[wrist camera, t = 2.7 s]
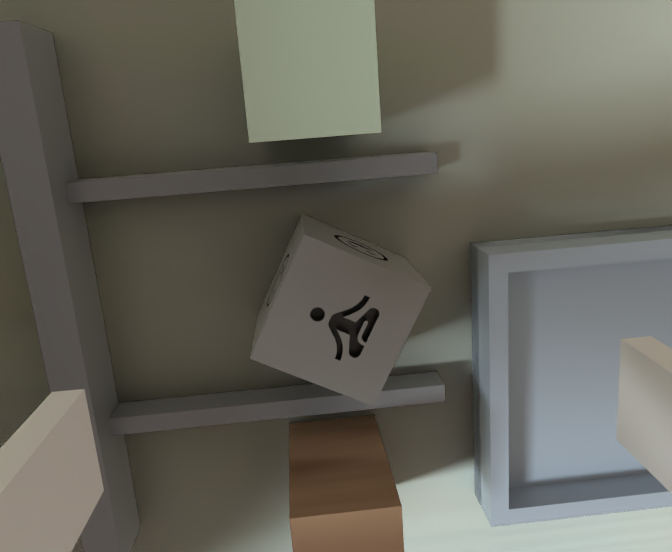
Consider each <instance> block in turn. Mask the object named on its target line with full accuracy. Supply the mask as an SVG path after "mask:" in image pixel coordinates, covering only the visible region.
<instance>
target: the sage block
mask: <svg viewBox="0 0 672 552" xmlns="http://www.w3.org/2000/svg"><path fill="white" fill-rule="evenodd" d="M234 7H235V17H236V26H237V35H238V45H239V54H240V63H241V73H242V82H243V91H244V100H245V110H246V119H247V128H248V138H249V143H253V142H266V141H279V140H292V139H305V138H318V137H330V136H343V135H356V134H369V133H381V115H380V97H379V78H378V60H377V41H376V22H375V4H374V0H234Z"/></svg>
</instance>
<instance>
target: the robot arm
mask: <svg viewBox="0 0 672 552" xmlns="http://www.w3.org/2000/svg"><path fill="white" fill-rule="evenodd" d="M616 439H617V440H618V441H619V442H620V443H621V444H622V445H623V446H624V447H625V448H626V449H627V450H628V451H629V452H630V453H631V454H632V455H633V456H634V457H635V458H636V459H637V460H638V461H639V462H640V463H641V464H642V465H643V466H644V467H645V468H646V469H647V470H648V471H649V472H650V473H651V474H652V475H653V476H654V477H655V478H656V479H657V480H658V481H659V482H660V483H661V484H662V485H663V486H664V487H665V488H666V489H667V490H668V491H669V492H670V493H671V494H672V349H671V348H670V347H668V346H667V345H665V344H663V343H662V342H660V341H658V340H657V339H655V338H653V337H652V336H647V337H636V338H625V339H621V346H620V368H619V389H618V411H617V433H616ZM103 491H104V488H103V483H102V477H101V472H100V467H99V462H98V457H97V452H96V446H95V441H94V436H93V431H92V426H91V420H90V415H89V410H88V405H87V400H86V395H85V389H79V390H68V391H57V392H51V393H50V395H49V396H48V397H47V398H46V399H45V400H44V401H43V402H42V403H41V404H40V406H39V407H38V408H37V409H36V410H35V411H34V412H33V413H32V414H31V415H30V416H29V418H28V419H27V420H26V421H25V422H24V423H23V424H22V425H21V426H20V427H19V429H18V430H17V431H16V432H15V433H14V434H13V435H12V436H11V437H10V438H9V439H8V441H7V442H6V443H5V444H4V445H3V446H2V447H1V448H0V552H72V550H73V548H74V546H75V544H76V542H77V540H78V539H79V537H80V535H81V533H82V531H83V529H84V527H85V525H86V523H87V521H88V520H89V518H90V516H91V514H92V512H93V510H94V508H95V506H96V504H97V503H98V501H99V499H100V497H101V495H102V493H103Z"/></svg>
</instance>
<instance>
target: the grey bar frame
mask: <svg viewBox="0 0 672 552" xmlns="http://www.w3.org/2000/svg"><path fill="white" fill-rule="evenodd" d="M0 155H1V160H2V165H3V169H4V174H5V179H6V184H7V189H8V193H9V198H10V203H11V208H12V212H13V217H14V222H15V227H16V232H17V236H18V241H19V246H20V251H21V255H22V260H23V265H24V270H25V275H26V279H27V284H28V289H29V294H30V299H31V303H32V308H33V313H34V318H35V322H36V327H37V332H38V337H39V342H40V346H41V351H42V356H43V361H44V365H45V370H46V375H47V380H48V385H49V389H50V393H51V392H57V391H68V390H79V389H85V395H86V400H87V405H88V410H89V415H90V420H91V426H92V431H93V436H94V441H95V446H96V452H97V457H98V462H99V467H100V472H101V477H102V483H103V488H104V491H103V493H102V495H101V497H100V499H99V501H98V503H97V504H96V506H95V508H94V510H93V512H92V514H91V516H90V518H89V520H88V521H87V523H86V525H85V527H84V529H83V531H82V533H81V535H80V538H81V542H82V547H83V552H131V551H132V548H133V545H134V543H135V540H136V537H137V534H138V532H139V529H140V526H141V525H140V520H139V514H138V509H137V503H136V497H135V492H134V486H133V481H132V475H131V469H130V464H129V458H128V453H127V447H126V442H125V436H124V435H125V434H135V433H144V432H154V431H164V430H174V429H183V428H193V427H203V426H212V425H222V424H232V423H241V422H251V421H261V420H271V419H280V418H290V417H300V416H309V415H319V414H329V413H339V412H348V411H358V410H368V409H377V408H387V407H397V406H406V405H416V404H426V403H436V402H445V385H444V383H443V381H442V380H441V378H440V376H439V374H438V373H437V371H434V372H424V373H414V374H404V375H394V376H388V378H387V380H386V382H385V384H384V386H383V388H382V390H381V392H380V394H379V396H378V398H377V400H376V402H375V404H374V406H372V405H369V404H367V403H364V402H361V401H359V400H356V399H353V398H351V397H348V396H346V395H343V394H340V393H338V392H335V391H333V390H330V389H327V388H325V387H322V386H319V385H317V384H305V385H295V386H285V387H275V388H265V389H255V390H245V391H235V392H225V393H215V394H205V395H195V396H185V397H175V398H165V399H155V400H145V401H135V402H125V403H118V397H117V391H116V386H115V380H114V375H113V369H112V363H111V358H110V352H109V347H108V341H107V336H106V330H105V324H104V319H103V313H102V308H101V302H100V296H99V291H98V285H97V280H96V274H95V269H94V263H93V257H92V252H91V246H90V241H89V235H88V229H87V224H86V218H85V213H84V207H83V202H95V201H107V200H119V199H132V198H144V197H156V196H168V195H180V194H193V193H205V192H217V191H229V190H241V189H253V188H266V187H278V186H290V185H302V184H314V183H327V182H339V181H351V180H363V179H375V178H387V177H400V176H412V175H424V174H436V173H438V157H437V153H435V152H430V151H427V152H414V153H402V154H389V155H377V156H364V157H352V158H339V159H327V160H314V161H302V162H289V163H277V164H264V165H252V166H239V167H227V168H214V169H202V170H189V171H177V172H165V173H152V174H140V175H127V176H115V177H102V178H90V179H78V174H77V168H76V162H75V157H74V151H73V146H72V140H71V135H70V129H69V123H68V118H67V112H66V107H65V101H64V95H63V90H62V84H61V79H60V73H59V68H58V62H57V56H56V51H55V45H54V40H53V34H52V33H51V32H48V31H45V30H43V29H40V28H38V27H35V26H32V25H30V24H27V23H24V22H22V21H19V20H16V21H1V22H0Z"/></svg>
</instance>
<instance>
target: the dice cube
mask: <svg viewBox="0 0 672 552" xmlns="http://www.w3.org/2000/svg"><path fill="white" fill-rule="evenodd" d="M431 289H432V288H431V287H430V286H429V284H428V283H427V282H426V281H425V280H424V279H423V277H422V276H421V275H420V274H419V273H418V272H417V270H416V269H415V268H414V267H413V266H412V265H411V263H410V262H409V261H408V260H407V259H406V258H404V257H402V256H399V255H397V254H395V253H392V252H390V251H388V250H385V249H383V248H381V247H379V246H376V245H374V244H372V243H369V242H367V241H365V240H362V239H360V238H358V237H355V236H353V235H351V234H348V233H346V232H344V231H341V230H339V229H337V228H334V227H332V226H330V225H327V224H325V223H323V222H321V221H318V220H316V219H314V218H311V217H309V216H307V215H304V214H301V216H300V219H299V221H298V223H297V226H296V228H295V230H294V232H293V235H292V237H291V239H290V242H289V244H288V246H287V249H286V251H285V253H284V255H283V258H282V260H281V262H280V265H279V267H278V269H277V272H276V274H275V276H274V279H273V281H272V283H271V285H270V288H269V290H268V292H267V295H266V297H265V299H264V302H263V304H262V306H261V308H260V311H259V313H258V315H257V319H256V325H255V331H254V337H253V343H252V349H251V354H250V359H251V360H254V361H257V362H259V363H262V364H264V365H267V366H270V367H272V368H275V369H278V370H280V371H283V372H285V373H288V374H291V375H293V376H296V377H299V378H301V379H304V380H306V381H309V382H312V383H314V384H317V385H319V386H322V387H325V388H327V389H330V390H333V391H335V392H338V393H340V394H343V395H346V396H348V397H351V398H353V399H356V400H359V401H361V402H364V403H367V404H369V405H372V406H374V404H375V402H376V400H377V398H378V396H379V394H380V392H381V390H382V388H383V386H384V384H385V382H386V380H387V378H388V376H389V374H390V372H391V370H392V368H393V366H394V364H395V362H396V360H397V358H398V356H399V354H400V352H401V350H402V348H403V346H404V344H405V342H406V340H407V338H408V336H409V334H410V332H411V330H412V328H413V325H414V323H415V321H416V319H417V317H418V315H419V313H420V311H421V309H422V307H423V305H424V303H425V301H426V299H427V297H428V295H429V293H430V291H431Z"/></svg>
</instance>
